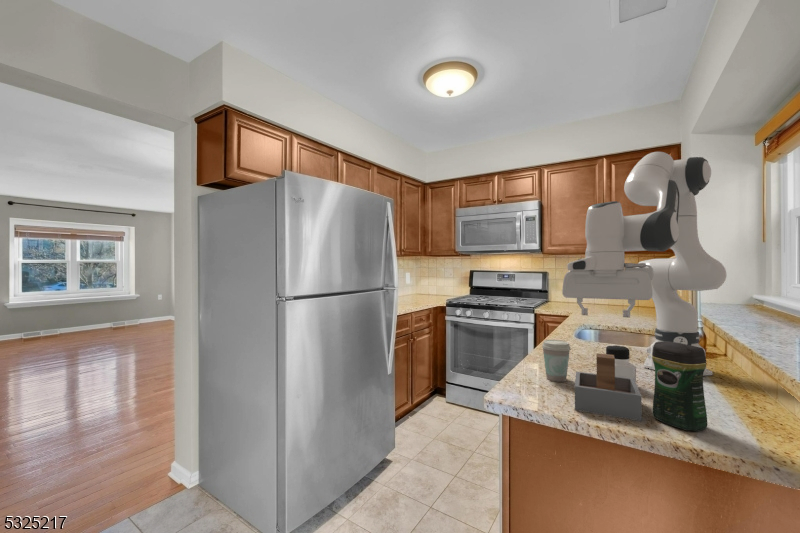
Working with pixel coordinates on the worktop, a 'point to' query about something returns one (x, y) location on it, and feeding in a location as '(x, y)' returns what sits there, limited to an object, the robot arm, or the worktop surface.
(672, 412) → the coffee jar
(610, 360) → the peg
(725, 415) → the worktop surface
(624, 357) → the medicine bottle
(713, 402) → the worktop surface
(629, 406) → the box
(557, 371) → the coffee cup
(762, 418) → the worktop surface
